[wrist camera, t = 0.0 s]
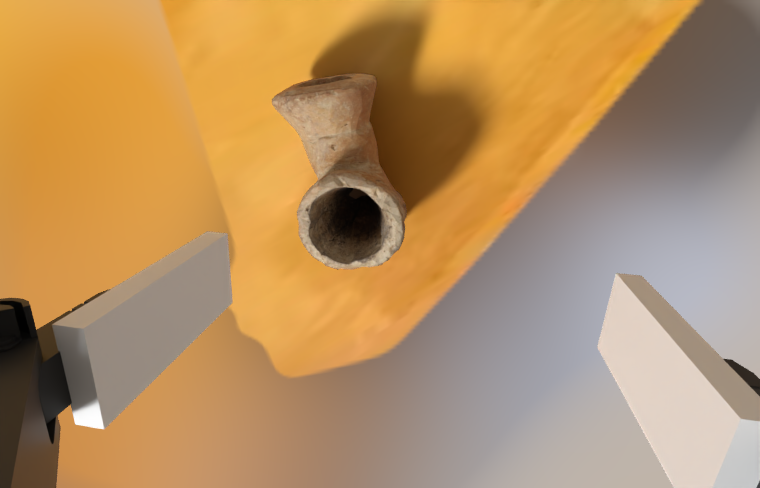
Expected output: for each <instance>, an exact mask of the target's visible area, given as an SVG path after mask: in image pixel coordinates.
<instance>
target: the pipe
mask: <svg viewBox="0 0 760 488" xmlns="http://www.w3.org/2000/svg"><path fill="white" fill-rule="evenodd" d="M376 87H377V80H376V78H375V76H373V75H369V74H364V73H356V74H342V75H336V76H330V77H325V78H318V79H312V80H308V81H304V82H301V83H298V84H295V85H293V86H291V87H289V88H287V89H285V90H284V91H282V92H281V93H279V94H277V95H276V96H275V97H274V98H273V99H272V104H273V106H274V107H275V109H276V110H277V111H278V112H279V113H280V114H281V115H282V116H283V117H284V118H285V119H286V120H287V121H288V122H289V124H290V125H291V126H292V127H293V128H294V129H295V130H296V131H297V133H298V134H299V136H300V138H301V139H302V142H303V145H304V148H305V151H306V153H307V156H308V159H309V161H310V163H311V165H312V167H313V169H314V171H315V173H316V175H317V177H318V181H317V182H316V183H315V184H314V185H313V186H312V187H311V188H310V189H309V190H308V191H307V192H306V194H305V195H304V196H303V199H302V201H301V203H300V206H299V208H298V211H297V217H298V221H299V236H300V239H301V241H302V243H303V245H304V246H305V248H306V249H307V251H308V252H309V253H310V254H311V255H312V256H313V257H314V258H315V259H317V260H318V261H321V262H322V263H324V264H325V266H328V267H331V268H334V269H341V268H342V269H356V268H360V267H372V266H379V265H382V264H383V263H384V262H385V261H388V260H389V259H390V258H391V256H392V255H393V254H394V253H395V252H396V251H397V250H399V248H400V247H401V245H402V242H403V239H404V232H405V224H404V221H405V218H406V213H407V210H406V204H405V202H404V200H403V198H402V196H401V195H400V194H399V193H398V192H397V191H396V190H395V189H394V188H393V186H392V185H391V183H390V181H389V180H388V178H387V176H386V174H385V172H384V171H383V169H382V167H381V166H380V164H379V157H378V148H377V142H376V139H375V135H374V132H373V128H372V125H371V123H370V122H369V120H370V113H371V108H372V104H373V99H374V95H375V90H376Z"/></svg>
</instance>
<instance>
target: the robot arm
mask: <svg viewBox="0 0 760 488" xmlns="http://www.w3.org/2000/svg"><path fill="white" fill-rule="evenodd" d="M231 303H232V289H231V276H230V262H229V248H228V235H227V233H217V232H205V233H204V234H202V235H201V236H199V237H197V238H195V239H194V240H192V241H190V242H189V243H187V244H186V245H184V246H182V247H180V248H179V249H177V250H175V251H174V252H172V253H170V254H169V255H167V256H166V257H164V258H162V259H160V260H159V261H157V262H156V263H154V264H152V265H150V266H149V267H147V268H146V269H144V270H142V271H141V272H139V273H137V274H135V275H134V276H132V277H131V278H129V279H127V280H126V281H124V282H122V283H120V284H119V285H117V286H115V287H114V288H112V289H109V290H106V291H103V292H101V293H98V294H96V295H95V296H93V297H91V298H90V299H88V300H86V301H85V302H84V304H80V305H78V306H76V307H74V308H73V309H72V311H68V312H66V313H64V314H63V315H61V316H60V317H58V318H56V319H54V320H52V321H51V322H49V323H47V324H46V325H44V326H43V327H41V328H39V329H37V330H36V327H35V323H34V319H33V316H32V311H31V308H30V304H29V301H26V300H24V299H19V298H5V299H0V488H56V482H57V469H58V454H59V440H60V424H59V420H58V416H57V415H58V414H59V413H60V412H62V411H63V410H64V409H65V408H67V407H68V406H69V405H70V404H71V408H72V412H73V416H74V421H75V424H76V425H82V426H88V427H94V428H100V429H105V428H106V427H107V426H108V425H109V424H110V423H111V422H112V421H113V420H114V419H115V418H116V417H117V416H118V415H119V414H120V413H121V412H122V411H123V410H124V409H125V408H126V407H127V406H128V405H129V404H130V403H131V402H132V401H133V400H134V399H135V398H136V397H137V396H138V395H139V394H140V393H141V392H142V391H143V390H144V389H145V388H146V387H147V386H149V384H151V383H152V382H153V381H154V380H155V379H156V378H157V377H158V376H159V375H160V374H161V373H162V372H163V371H164V370H165V369H166V368H167V367H168V366H169V365H170V364H171V363H172V362H173V361H174V360H175V359H176V358H177V357H178V356H179V355H180V354H181V353H182V352H183V351H184V350H185V349H186V348H187V347H188V346H189V345H190V344H191V343H192V342H193V341H194V340H195V339H196V338H197V337H198V336H199V335H200V334H201V333H202V332H203V331H204V330H205V329H206V328H207V327H208V326H209V325H210V324H211V323H212V322H213V321H214V320H215V319H216V318H217V317H218V316H219V315H220V314H221V313H222V312H223V311H224V310H225V309H226V308H227V307H228V306H229V305H230V304H231ZM597 348H598V350H599V351H600V353H601V355H602V357H603V359H604V361H605V362H606V364H607V366H608V368H609V370H610V372H611V374H612V375H613V377H614V379H615V381H616V383H617V385H618V386H619V388H620V390H621V392H622V394H623V396H624V398H625V399H626V401H627V403H628V405H629V407H630V408H631V410H632V412H633V414H634V416H635V418H636V420H637V421H638V423H639V425H640V427H641V429H642V431H643V432H644V434H645V436H646V438H647V440H648V442H649V444H650V445H651V447H652V449H653V451H654V453H655V454H656V456H657V458H658V460H659V462H660V464H661V466H662V467H663V469H664V471H665V473H666V475H667V477H668V479H669V480H670V482H671V484H672V486H673V488H760V379H759V378H758V377H757V376H756V375H755V374H754V373H752V372H751V371H749V370H747V369H746V368H744V367H743V366H741V365H739V364H738V363H736V362H734V361H733V360H728V359H722V358H721V357H720V356H719V354H718V353H717V352H716V351H715V350H714V349H713V348H712V347H711V346H710V345H709V344H708V343H707V342H706V341H705V340H704V339H703V338H702V337H701V336H700V335H699V334H698V333H697V332H696V331H695V330H694V329H693V328H692V327H691V326H690V325H689V324H688V323H687V322H686V321H685V320H684V319H683V318H682V317H681V316H680V315H679V313H678V312H677V311H676V310H675V309H674V308H673V307H672V306H671V305H669V303H668V302H667V301H666V300H665V299H664V298H663V297H662V296H661V295H660V294H659V293H658V292H657V291H656V290H655V289H654V288H653V287H652V286H651V285H650V284H649V283H648V282H647V281H646V280H645V279H644V278H643V277H642V276H638V275H629V274H619V273H616V276H615V279H614V284H613V287H612V291H611V295H610V299H609V303H608V307H607V311H606V315H605V319H604V323H603V327H602V331H601V335H600V339H599V343H598V346H597Z"/></svg>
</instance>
